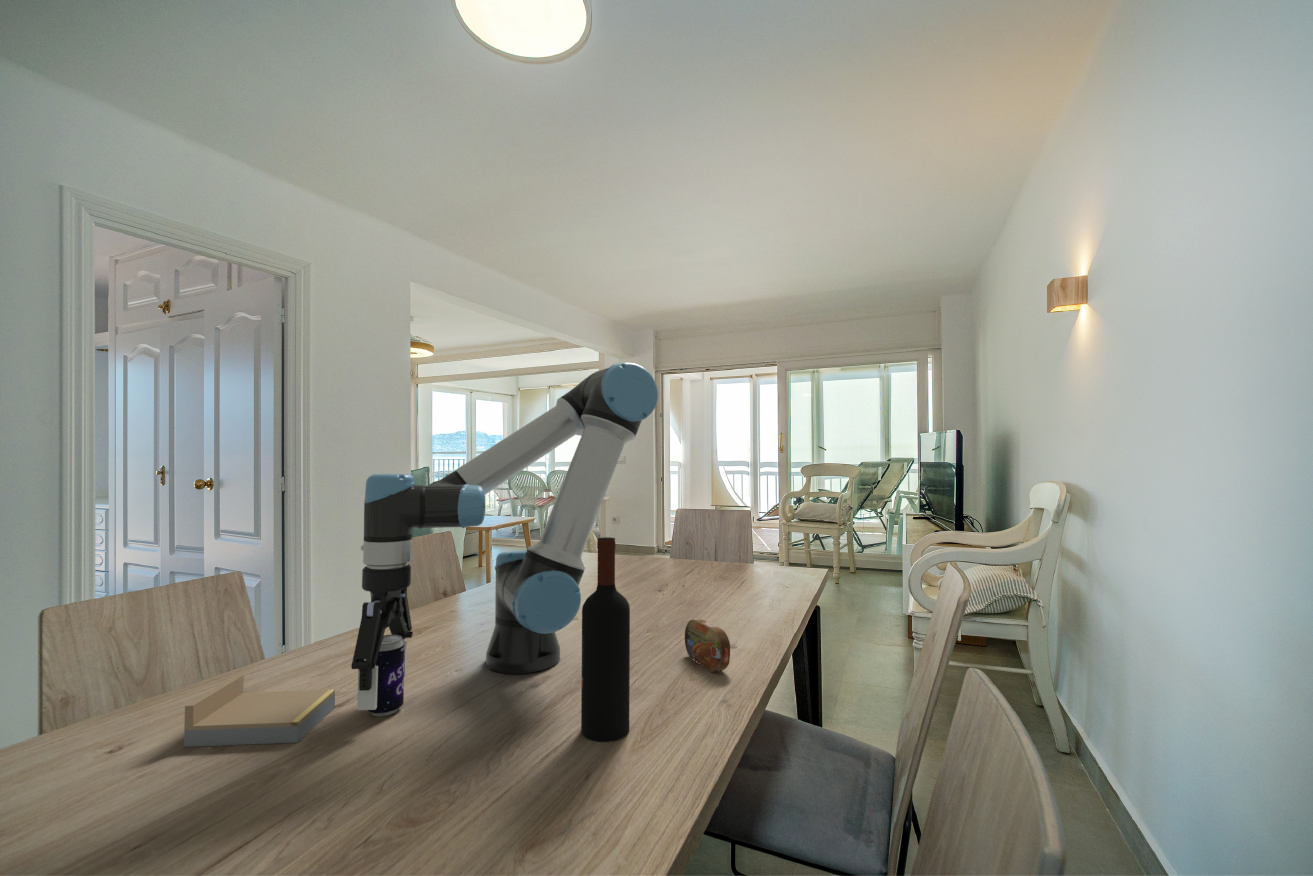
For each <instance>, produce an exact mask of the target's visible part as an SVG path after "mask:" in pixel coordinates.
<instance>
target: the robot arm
mask: <svg viewBox="0 0 1313 876" xmlns="http://www.w3.org/2000/svg"><path fill="white" fill-rule="evenodd" d="M655 381H656V380H655V379H654V377H653V375H652V373H651V372H649V371H648V370H647V369H646V368H645V367H643V366H642V365H640V364H637V363H634V362H618V363H617V362H616V363H614V364H612V365H611V366H609V367H606V368H604V369H600V370H597V371H594V372H593V373H591V374H590V375H588V376H587V377H586V378H584V379H583V380H582V381H581V382H580V383H578V384H576V385H575V386H574V387H573V388H572V389H570V390H569V391H568V392H566V393H565V394H564V395H562V396H561V397H559V398H557V400H556V404H555V406H554V407H552V408H550V409H549V410H547V411H546V412H544V413H542V414H541V415H540V416H537V417H536V418H534V419H533V420H531V421H530V422H528V423H526V424H525V425H524V426H522V427H521V428H519V429H517V430H516V431H514V432H512V433H511V434H509V435H507V436H506V437H505V438H503V439H501V440H500V441H498V442H496V444H494V445H492V446H490V448H487V449H486V450H485V451H482V452H481V453H479V454H478V455H477V456H475V457H474V458H472V459H470V460H469V461H467V462H466V463H464V464H462V465H461V466H460V467H458V468H456V469H454V471H452V472H450V473H448V474H447V475H445V476H444V477H443V478H441V479H439V480H435V481H433V482H432V483H430V484H429V485H420V484H416V483H415V480H414V479H415V478H414V476H413V475H412V474H410V473H375V474H371V475H370V476H369V477H367V479H366V481H365V491H364V492H365V493H364V501H363V503H364V505H363V506H364V507H363V544H362V545H361V546H360V551H363V553H362V554H363V555H362V558H363V559H362V563H363V565H365V566H364V567H363V568H362V573H361V575H362V576H361V588H362V590H364V591H365V592H370V593H371V594H372V596H371V601H370V602H366V601H365V602H363V603H362V606H361V608H362V609H361V619H360V624H359V628H358V634H357V638H356V643H355V646H354V648H355V649H354V653H353V656H352V662H351V667H350V668H351V670H358V671H357V695H356V696H357V698H356V699H357V700H356V711H367V710H375V709H376V708H377V687H378V666H375V665H376V661H377V658H378V654H379V650H380V647H381V643H382V639H383V636H384V635H385V631H386V629H387V628H388V629H389V631H390V633H391V634H390V635H399V636H401V637H402V641H403V643H404V678H405V677H406V676H407V660H408V659H407V656H408V639H411V638H413V634H414V633H413V631H412V630H413V629H412V628H413V625H412V619H411V614H410V607H409V605H410V604H409V600H408V588H409V587H410V586H411V583H412V581H411V580H412V579H411V578H412V566H411V565H410V564H409V563H411V562H412V558H413V557H412V555H413V529H418V530H421V529H430V528H431V529H432V528H433V529H434V528H435V529H436V528H437V529H439V528H440V529H441V528H462V529H465V528H468V527H469V528H470V527H479V526H480V525H482V524H483V523H484V520H485V515H486V495H487V494H489V493H490V492H492V491H493V490H494V489H496V488H497V487H499V486H501V485H502V484H503V483H505V482H507V481H508V480H510V479H512V477H515V476H516V475H517V474H518V473H520V472H522V471H523V470H525V469H527V468H528V467H529V466H531V465H532V464H533V463H535V462H537V461H538V460H541V459H542V458H543V457H544V456H545V455H547V454H549V453H550V452H552V451H554V449H556V448H558V447H559V446H561V445H562V444H564V443H565V442H567V441H568V440H570V439H572V437H574V436H580V438H579V442H578V444H577V446H576V449H575V450H574V453H573V457H572V459H571V462H570V463H569V467H568V469H567V471H566V473H565V476H564V479H563V481H562V484H561V486H560V489H559V491H558V494H557V497H556V498H555V501H554V504H553V506H552V509H551V511H550V513H549V516H548V519H547V520H546V524H545V525H544V529H543V531H542V534H541V536H540V538H539V541H538V542H537V543H534V544H533V545H532V544H531V545H530V546H528V547H527V549H526V550H514V551H513V550H511V551H504V552H500V553H498V554H497V556H496V558H495V566H494V570H495V609H494V610H495V615H494V616H495V617H494V618H495V619H494V620H495V621H494V624H495V625H494V628H493V631H492V633H491V634H492V635H491V638H490V640H489V643H488V646H487V649H486V653H485V665H486V667H487V668H488V669H489V670H491V671H494V672H497V673H503V674H510V675H511V674H513V675H515V674H530V673H536V672H540V671H544V670H548V669H549V668H551V667H554V666H555V665H557V664H558V663H559V662H560V660H561V646H560V644H559V640H558V637H557V634H556V632H559V631H560V630H562V629H564V628H565V627H567V626H568V625H569V624H571V622H573V620H574V619H575V618H576V616H577V614H578V612H579V610H580V607H581V601H582V600H581V599H582V596H581V595H582V594H581V588H580V586H579V585H580V583H581V581H582V578H583V575H584V572H585V570H586V568H585V565H584V562H583V559H582V556H583V553H584V551H585V548H586V545H587V543H588V539H589V537H590V535H591V532H592V529H593V527H594V524H595V521H596V519H597V517H598V514H599V511H600V509H601V506H602V504H603V501H604V499H605V496H606V494H607V491H608V488H609V487H610V486H609V485H610V483H611V480H612V478H613V476H614V473H615V470H616V467H617V464H618V462H619V459H620V457H621V454H622V452H623V449H624V446H625V444H626V443H628V442H630V441H632V440H634V439H635V438H636V436H637V434H638V432H639V428H640V427H641V423H642V421H643V420H646V418H649V416H651V414H652V413H653V412H654V410H655V408H656V406H657V404H658V399H659V392H658V390H659V389H658V386H657V383H656V382H655ZM635 440H636V439H635Z"/></svg>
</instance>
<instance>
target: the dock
mask: <svg viewBox="0 0 1313 876" xmlns="http://www.w3.org/2000/svg"><path fill="white" fill-rule="evenodd" d="M244 677H245V675H244V674H235V675H234V676H232V677H230V678H229V679H227V680H226V681H224V682H222V683H220V684H219V685H217V686H215V687H214V688H212V689H211V690H208V691H207V692H205V693H204V694H202V695H200V696H199V697H198V698H195V699H194V700H192V701H191V702H189V703H188V704H186V705H184V728H183V729H184V730H183V731H184V733H183V734H184V735H183V737H184V738H183V747H184V748H191V747H192V748H193V747H194V748H195V747H217V746H219V747H221V746H237V745H238V746H243V745H267V744H291V743H292V744H293V743H295V744H296V743H299V742H300V741H301V740H302V739H303V738H304V737H306V735H307V734H308V733H309V732H311V731H312V729H314V728H315V727H316V726H317V725H318V724H319V723H320V722H321V721H322V720H323V719H324V718H326V717H327V716H328V714H330V713H331V712H332V711H333V710H334V709H335V708H336V689H321V690H318V689H317V690H293V691H292V690H289V691H285V690H284V691H257V692H244V680H245V679H244Z"/></svg>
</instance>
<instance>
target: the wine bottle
mask: <svg viewBox="0 0 1313 876" xmlns="http://www.w3.org/2000/svg"><path fill="white" fill-rule="evenodd" d="M596 544H597V547H596V548H597V586H596V589H595V590H594V592H592V593H591V594H590V595H589V596H588V597H587V598H586V599H585V601H584V602H583V604H582V608H581V610H582V611H581V701H580V702H581V704H580V705H581V707H580V708H581V709H580V710H581V711H580V712H581V713H580V714H581V718H580V719H581V720H580V721H581V722H580V723H581V724H580V729H581V730H580V733H581V734H582V736H583V737H584V738H585V739H587V740H590V741H592V742H593V741H594V742H599V743H604V742H605V743H608V742H609V743H610V742H614V741H618V740H620V739H622V738H625V737H626V736H627V735H629V732H630V693H631V692H630V691H631V689H630V681H631V680H630V678H631V677H630V675H631V674H630V669H631V667H630V666H631V665H630V660H631V659H630V657H631V653H630V651H631V649H630V648H631V646H630V645H631V641H630V638H631V636H630V635H631V631H630V630H631V623H630V622H631V621H630V619H631V616H630V615H631V613H630V612H631V608H630V603H629V601H628V600H627V599H626V597H625V596H624V595H623V594H621V592H619V591H618V590H617V587H616V538H615V537H609V536H607V537H605V536H604V537H598V538H597V543H596Z"/></svg>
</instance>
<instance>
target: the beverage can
mask: <svg viewBox="0 0 1313 876" xmlns="http://www.w3.org/2000/svg"><path fill="white" fill-rule="evenodd" d="M375 666H378V687H377V708H376V709H375V710H366V711H368V713H369V714H371V716H373V717H387V716H390V715H393V714H395V713H397V712H398V711H399V710H400V708H401V707H402V706H403V705H404V703H405V701H404V699H405V698H404V694H405V693H404V691H405V686H404V685H405V677H404V643H403V641H402V637H401V636H399V635H392V634H386V635H385V634H384V636H383V639H382V643H381V647H380V650H379V654H378V658H377V661H376V665H375Z"/></svg>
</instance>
